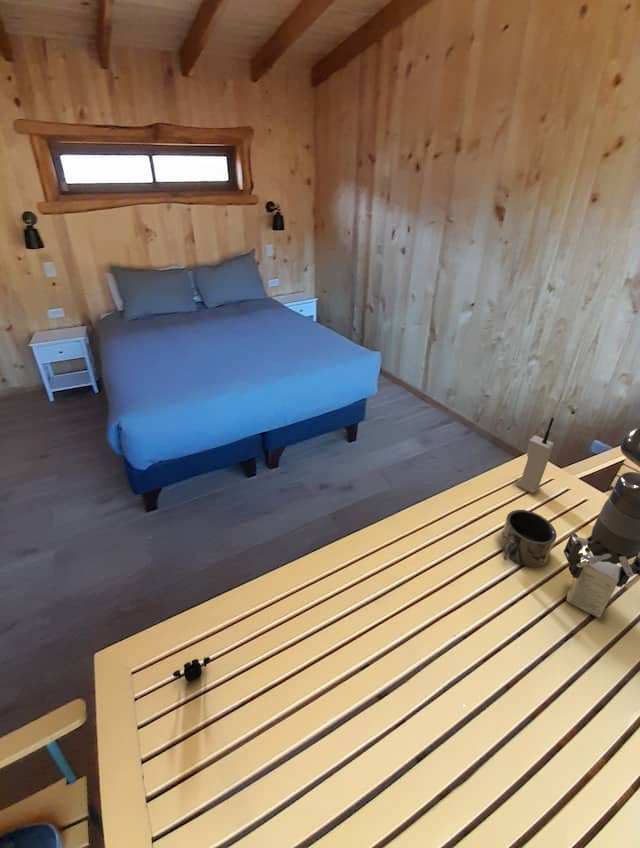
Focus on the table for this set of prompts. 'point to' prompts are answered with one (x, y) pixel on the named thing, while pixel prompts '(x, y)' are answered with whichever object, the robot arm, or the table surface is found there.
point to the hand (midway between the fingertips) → (595, 578)
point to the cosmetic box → (594, 587)
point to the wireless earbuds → (192, 669)
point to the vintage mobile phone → (536, 461)
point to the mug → (527, 538)
